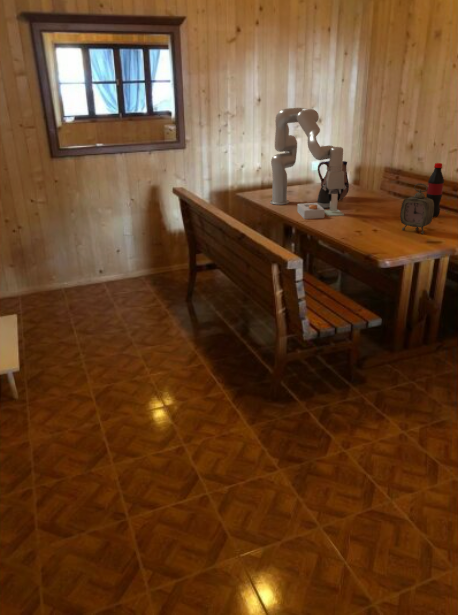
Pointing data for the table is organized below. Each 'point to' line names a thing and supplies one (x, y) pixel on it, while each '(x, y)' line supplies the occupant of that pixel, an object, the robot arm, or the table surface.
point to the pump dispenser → (323, 198)
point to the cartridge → (334, 200)
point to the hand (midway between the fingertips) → (333, 199)
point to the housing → (310, 211)
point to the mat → (333, 213)
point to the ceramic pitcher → (345, 191)
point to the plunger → (312, 206)
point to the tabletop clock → (417, 210)
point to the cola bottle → (436, 187)
